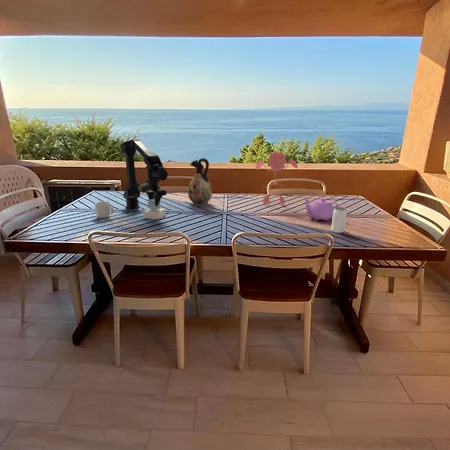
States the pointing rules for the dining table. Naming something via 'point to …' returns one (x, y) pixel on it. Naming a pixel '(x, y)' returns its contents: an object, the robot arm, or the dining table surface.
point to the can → (339, 220)
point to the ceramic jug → (200, 184)
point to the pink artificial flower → (278, 164)
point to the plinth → (154, 213)
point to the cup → (103, 209)
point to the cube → (153, 205)
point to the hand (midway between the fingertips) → (154, 205)
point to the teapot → (321, 209)
